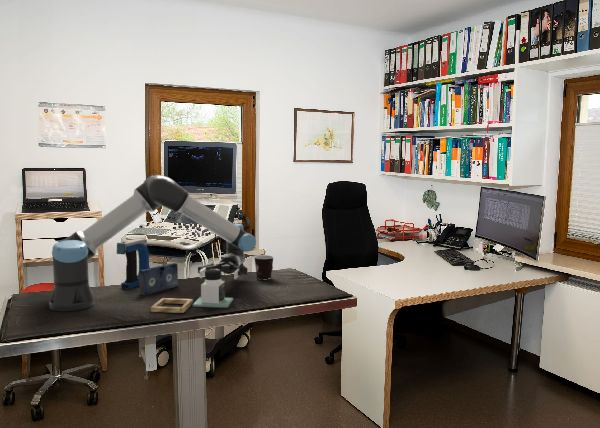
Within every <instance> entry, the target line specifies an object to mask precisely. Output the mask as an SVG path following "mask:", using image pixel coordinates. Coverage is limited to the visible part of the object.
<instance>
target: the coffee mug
mask: <svg viewBox="0 0 600 428" xmlns="http://www.w3.org/2000/svg"><path fill="white" fill-rule="evenodd" d="M273 262H274V256H273V255H265V254H263V255H262V254H261V255H256V256H254V264H255V265H254V267H255V275H256V279H257V278H259V279H268V278H271V279H272V274H273V272H272V271H273V268H274V265H273Z"/></svg>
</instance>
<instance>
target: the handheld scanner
mask: <svg viewBox="0 0 600 428" xmlns="http://www.w3.org/2000/svg"><path fill="white" fill-rule="evenodd" d="M147 242H148V241H147V239H146V238H139V239H134V240H130V241H127V242H117V243H116V254H117V255H125V257H126V264H125V265H126V267H125V277H126V278H125V280H124V281H123V282H121V284H120V286H121V287H120V288H121V289H123V290H133V289H134V288H137V286H138V287H140V286H139V272H138V271H139V270H143V269H149V268H150V255H149V254H150V253H149V248H148V246H147ZM137 254H138V258H137Z"/></svg>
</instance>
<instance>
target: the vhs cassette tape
mask: <svg viewBox="0 0 600 428" xmlns="http://www.w3.org/2000/svg"><path fill="white" fill-rule="evenodd" d="M178 269H179V268H178V263H176V262H173V263H168V264H163V265H158V266H153V267H149V269H143V270H139V269H138V273H139V285H140V286H138V287H139V295H141V296H146V295H150V294H155V293H158V292H161V291H165V290H170V289H172V288H176V287H178V286H179V282H178V281H179V274H178V273H179V272H178V271H179V270H178Z"/></svg>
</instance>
